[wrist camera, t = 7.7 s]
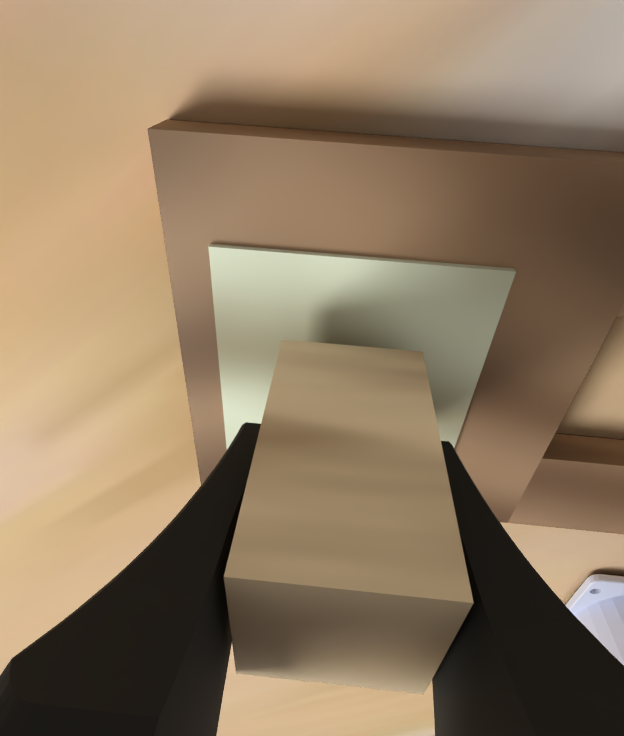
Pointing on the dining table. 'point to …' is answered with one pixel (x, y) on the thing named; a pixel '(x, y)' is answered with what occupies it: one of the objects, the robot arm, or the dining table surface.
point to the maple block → (347, 526)
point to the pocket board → (405, 288)
